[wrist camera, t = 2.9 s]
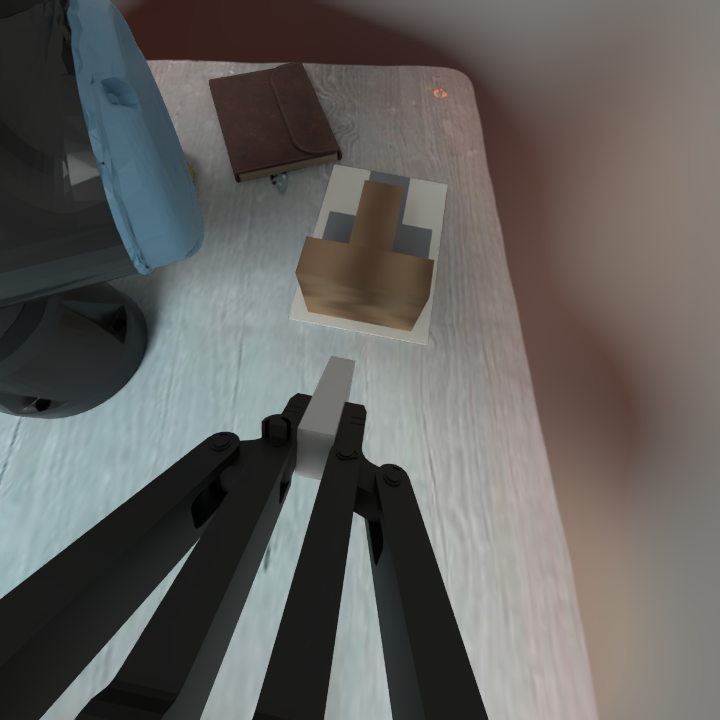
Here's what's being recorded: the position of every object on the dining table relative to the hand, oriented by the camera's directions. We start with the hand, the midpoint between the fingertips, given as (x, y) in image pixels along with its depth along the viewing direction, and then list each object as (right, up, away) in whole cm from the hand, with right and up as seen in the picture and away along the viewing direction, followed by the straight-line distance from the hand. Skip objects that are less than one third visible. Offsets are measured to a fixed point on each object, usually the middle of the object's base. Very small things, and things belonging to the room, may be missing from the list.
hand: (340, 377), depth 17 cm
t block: (+2, +11, +16) cm, 19 cm away
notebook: (-12, +36, +24) cm, 45 cm away
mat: (+3, +15, +18) cm, 24 cm away
